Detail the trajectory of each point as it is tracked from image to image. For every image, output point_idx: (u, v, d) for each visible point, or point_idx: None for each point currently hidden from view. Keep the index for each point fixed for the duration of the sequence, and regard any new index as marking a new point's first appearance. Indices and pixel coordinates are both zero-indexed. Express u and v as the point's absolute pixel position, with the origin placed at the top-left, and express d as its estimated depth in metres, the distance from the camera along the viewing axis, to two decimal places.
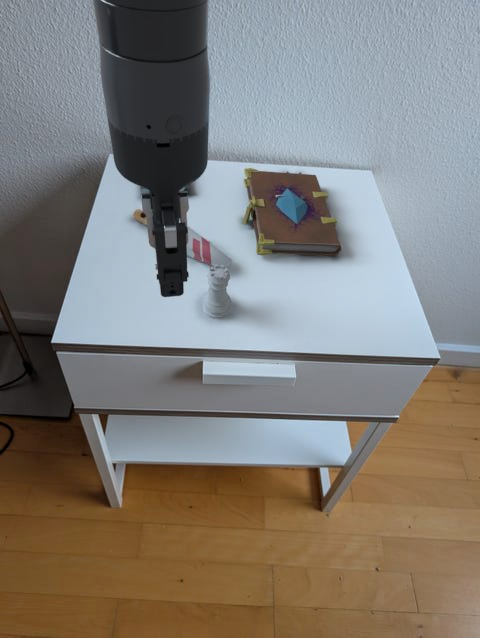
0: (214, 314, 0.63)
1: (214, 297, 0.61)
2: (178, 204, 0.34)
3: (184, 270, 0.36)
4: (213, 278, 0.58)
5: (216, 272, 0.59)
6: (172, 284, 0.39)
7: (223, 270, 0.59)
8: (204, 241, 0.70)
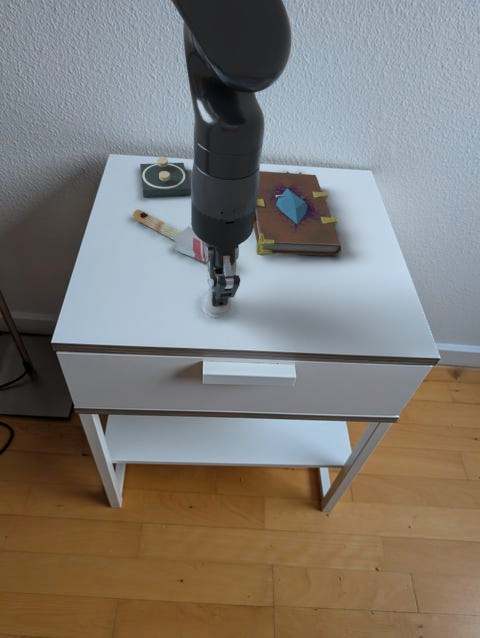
0: (214, 314, 0.63)
1: None
2: (234, 255, 0.51)
3: (233, 294, 0.55)
4: None
5: None
6: (221, 298, 0.59)
7: None
8: None
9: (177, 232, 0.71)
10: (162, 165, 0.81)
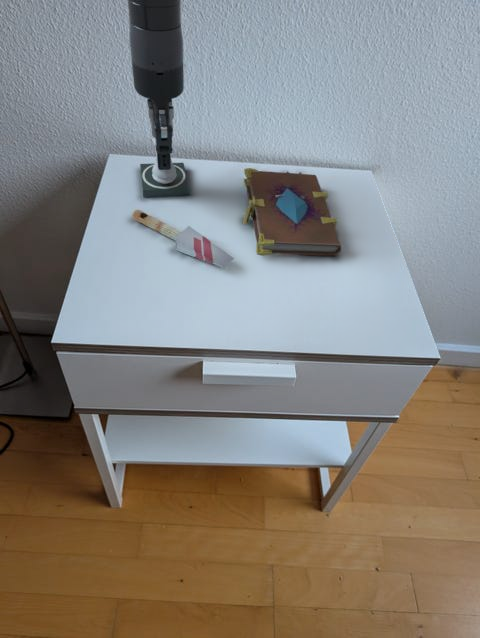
0: (161, 179, 0.77)
1: None
2: (168, 109, 0.65)
3: (170, 148, 0.69)
4: None
5: None
6: (164, 159, 0.72)
7: None
8: (205, 240, 0.70)
9: (177, 232, 0.71)
10: None
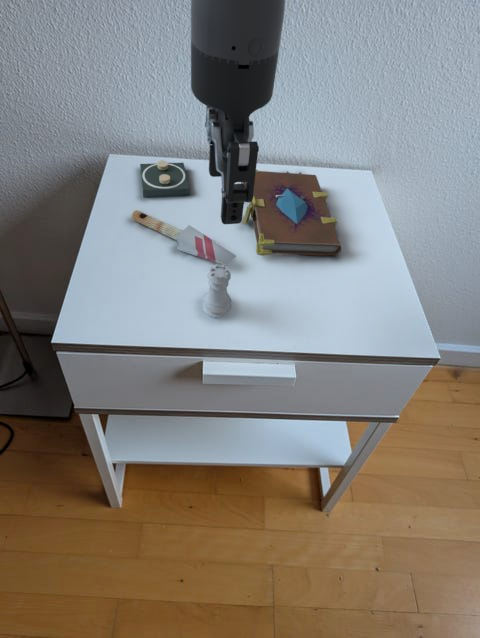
0: (214, 314, 0.63)
1: (215, 297, 0.61)
2: (248, 128, 0.39)
3: (251, 189, 0.40)
4: (213, 278, 0.58)
5: (216, 272, 0.59)
6: (234, 209, 0.44)
7: (223, 270, 0.59)
8: (206, 239, 0.70)
9: (178, 231, 0.71)
10: (162, 168, 0.81)
